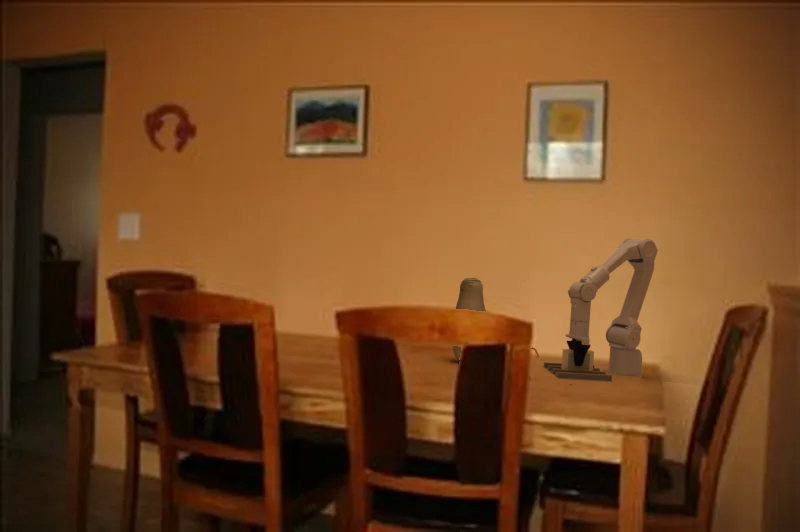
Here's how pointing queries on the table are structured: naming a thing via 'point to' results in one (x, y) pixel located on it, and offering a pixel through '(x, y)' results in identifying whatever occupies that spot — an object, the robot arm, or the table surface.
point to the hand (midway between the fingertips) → (576, 364)
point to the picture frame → (569, 360)
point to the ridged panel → (577, 373)
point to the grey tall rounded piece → (469, 301)
